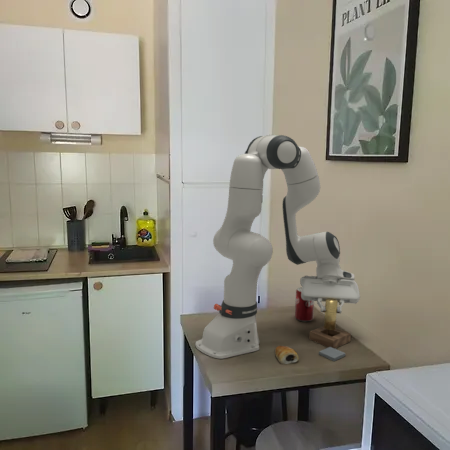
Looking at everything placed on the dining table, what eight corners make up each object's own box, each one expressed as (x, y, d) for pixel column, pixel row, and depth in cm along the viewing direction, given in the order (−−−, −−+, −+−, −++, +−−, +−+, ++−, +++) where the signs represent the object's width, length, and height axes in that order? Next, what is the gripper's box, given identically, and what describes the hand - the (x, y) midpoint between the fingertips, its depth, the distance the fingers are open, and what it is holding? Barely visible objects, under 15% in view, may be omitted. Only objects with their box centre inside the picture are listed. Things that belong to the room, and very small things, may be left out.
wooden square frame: (333, 349, 148) (333, 340, 148) (309, 339, 155) (309, 331, 155) (350, 341, 154) (350, 333, 154) (326, 332, 162) (327, 324, 161)
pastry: (270, 352, 145) (270, 341, 144) (289, 350, 147) (289, 339, 146) (280, 365, 136) (281, 353, 136) (300, 363, 138) (301, 352, 137)
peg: (330, 330, 151) (333, 302, 150) (321, 327, 154) (323, 299, 153) (337, 328, 154) (340, 300, 152) (328, 324, 157) (330, 297, 155)
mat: (334, 361, 139) (334, 358, 139) (318, 354, 144) (319, 351, 144) (345, 356, 143) (345, 353, 143) (329, 349, 148) (330, 346, 148)
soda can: (291, 319, 173) (293, 290, 172) (297, 314, 180) (299, 285, 178) (309, 323, 170) (311, 293, 168) (315, 317, 177) (317, 288, 175)
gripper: (301, 271, 159) (301, 306, 151) (359, 274, 157) (362, 310, 149) (299, 279, 164) (299, 314, 156) (355, 283, 162) (358, 318, 154)
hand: (331, 312), depth 152 cm, fingers closed on peg, 4 cm apart
